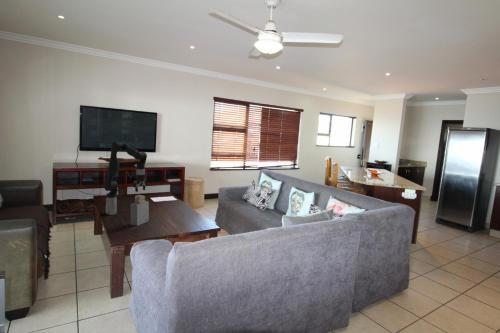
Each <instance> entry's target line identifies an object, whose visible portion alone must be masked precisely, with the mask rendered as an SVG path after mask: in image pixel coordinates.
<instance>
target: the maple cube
mask: <svg viewBox="0 0 500 333" xmlns="http://www.w3.org/2000/svg"><path fill="white" fill-rule="evenodd" d="M134 199H135V200H134V203H139V204H141V203H144V202H145V201H146V196H145V195H141V194H138V195H135V197H134Z"/></svg>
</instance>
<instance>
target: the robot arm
mask: <svg viewBox="0 0 500 333" xmlns="http://www.w3.org/2000/svg"><path fill="white" fill-rule="evenodd" d="M118 152H126V154H127V155H129V156H131V157H133V159H135V160H138V162H136V170H135V179H136V180H133V184H132V185H133V188H135V192H136V193H138V192H139V187H140V185H142V190H143V191H145V190H146V186H148V179H147V178H146V169H145V166H146V162H147V159H148V154H147V153H146V152H145V151H139V150H137V149H136V148H133V147H131V146H129V145H128V144H127V143H125V142H123V141H113V142H112V143H111V146H110V158H109V163H108V168H107V174H106V178H105V181H104V185H103V187H104V190H105V191H106V192H108V193H106V197H105V198H106V199H105V201H106V203H105V214H106V215H108V216H109V215H111V216H113V215H116V214H117V213H118V212H117V210H118V209H117V202H118V201H117V200H118V199H117V197H118V196H117V195H118V189H119V188H118V182H117V181H116V180H113V178H114V177H115V176H116V175H117V173H118V172H119V170H120V161H119V159H118V156H117V155H118Z"/></svg>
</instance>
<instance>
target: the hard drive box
mask: <svg viewBox="0 0 500 333" xmlns="http://www.w3.org/2000/svg"><path fill="white" fill-rule="evenodd" d="M149 205H150V204H149V201H148V200H145V202H144V203H141V204H139V203H135V202H133V203H130V225H131V226H135V227H138V226H141V225H143V224H145V223H147V222H149V220H150V219H149V217H150V216H149V214H150V213H149V212H150V211H149V208H150V207H149Z"/></svg>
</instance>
